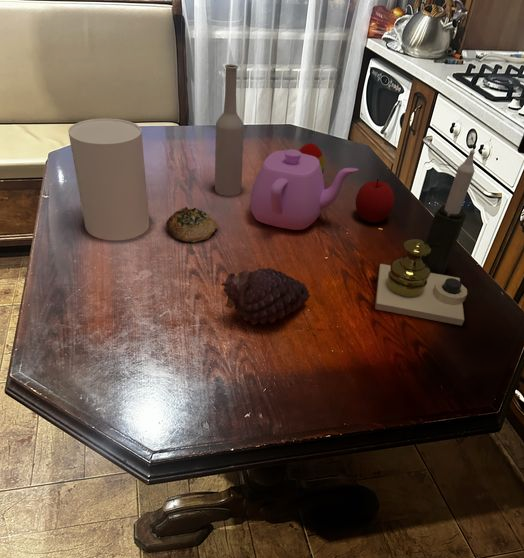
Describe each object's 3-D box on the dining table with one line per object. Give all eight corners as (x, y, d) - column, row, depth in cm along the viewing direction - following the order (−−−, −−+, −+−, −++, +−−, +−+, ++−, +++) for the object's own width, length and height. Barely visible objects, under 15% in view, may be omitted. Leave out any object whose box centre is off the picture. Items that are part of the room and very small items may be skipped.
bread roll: (166, 216, 115) (168, 196, 112) (215, 223, 118) (218, 203, 114) (164, 244, 108) (166, 223, 104) (216, 250, 110) (220, 230, 107)
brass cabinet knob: (427, 299, 97) (444, 253, 90) (389, 296, 97) (402, 250, 90) (419, 277, 102) (434, 232, 96) (382, 274, 102) (395, 229, 95)
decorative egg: (292, 173, 138) (297, 136, 131) (322, 177, 137) (328, 140, 131) (289, 186, 132) (293, 147, 125) (320, 190, 131) (326, 152, 125)
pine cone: (289, 285, 99) (318, 260, 91) (300, 333, 96) (331, 311, 88) (206, 280, 90) (230, 252, 82) (215, 333, 87) (241, 309, 79)
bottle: (244, 194, 127) (250, 69, 108) (218, 197, 125) (220, 70, 106) (236, 183, 131) (241, 61, 112) (211, 185, 129) (212, 61, 110)
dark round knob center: (458, 287, 98) (461, 279, 97) (459, 296, 96) (462, 288, 95) (442, 284, 99) (445, 276, 98) (443, 293, 97) (445, 285, 95)
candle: (415, 270, 107) (454, 150, 90) (424, 259, 110) (463, 142, 93) (438, 279, 105) (482, 158, 88) (447, 268, 108) (491, 150, 91)
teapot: (234, 232, 113) (237, 165, 103) (263, 193, 128) (268, 131, 118) (335, 255, 109) (348, 188, 99) (352, 212, 124) (365, 150, 114)
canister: (145, 207, 118) (137, 117, 105) (153, 237, 109) (145, 142, 95) (83, 211, 115) (67, 119, 101) (87, 243, 105) (69, 145, 92)
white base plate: (459, 284, 104) (464, 271, 102) (464, 326, 94) (470, 313, 92) (378, 269, 106) (382, 256, 104) (374, 309, 96) (378, 296, 94)
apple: (396, 227, 120) (407, 186, 113) (360, 228, 118) (369, 187, 111) (381, 208, 127) (391, 168, 120) (347, 209, 125) (354, 169, 118)
